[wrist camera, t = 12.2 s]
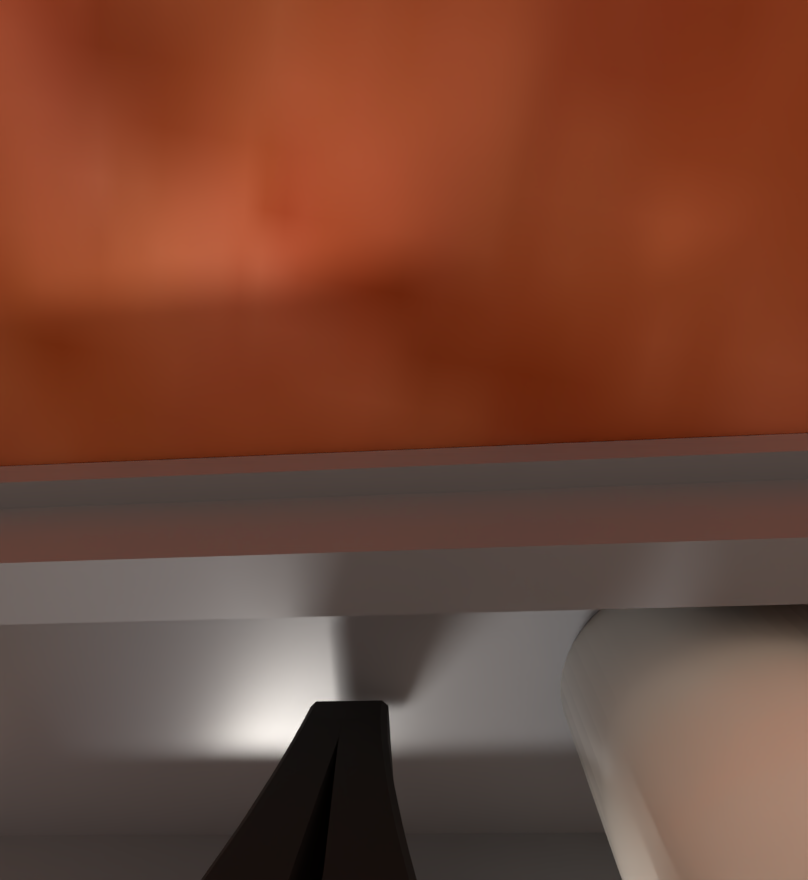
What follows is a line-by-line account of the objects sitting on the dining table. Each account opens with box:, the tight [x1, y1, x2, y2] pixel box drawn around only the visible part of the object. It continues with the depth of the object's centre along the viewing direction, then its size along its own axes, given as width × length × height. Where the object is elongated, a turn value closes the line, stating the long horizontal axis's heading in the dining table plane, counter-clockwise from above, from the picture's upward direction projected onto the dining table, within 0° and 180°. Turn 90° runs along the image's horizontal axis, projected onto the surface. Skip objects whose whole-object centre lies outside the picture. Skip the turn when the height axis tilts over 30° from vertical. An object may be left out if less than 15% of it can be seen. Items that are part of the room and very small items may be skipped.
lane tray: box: [0, 433, 808, 880], centre depth 8 cm, size 24×10×6 cm, turn 93°
